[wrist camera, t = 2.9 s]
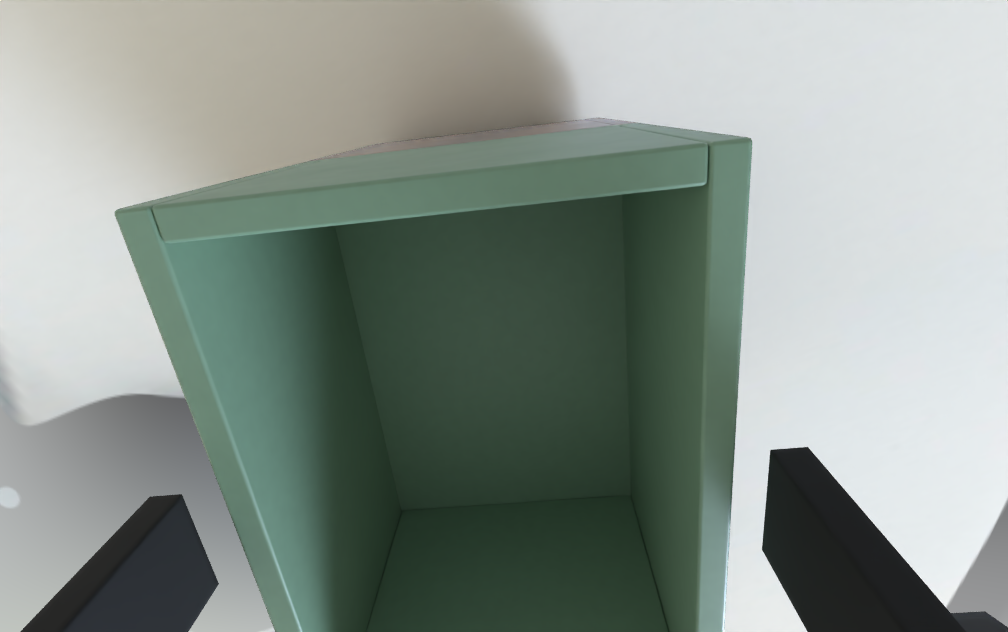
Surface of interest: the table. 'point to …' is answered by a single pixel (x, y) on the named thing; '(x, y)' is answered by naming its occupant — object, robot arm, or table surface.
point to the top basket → (469, 377)
